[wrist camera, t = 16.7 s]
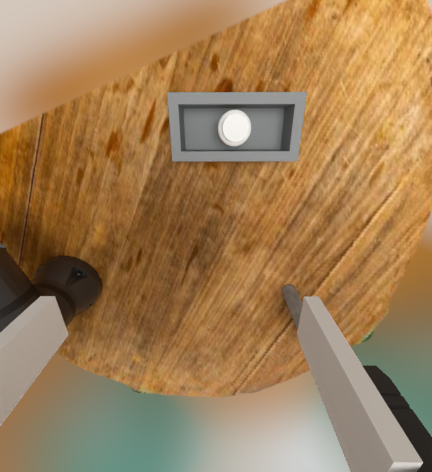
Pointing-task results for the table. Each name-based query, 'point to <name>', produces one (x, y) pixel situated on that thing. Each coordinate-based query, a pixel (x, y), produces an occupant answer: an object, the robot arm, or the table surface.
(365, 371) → the robot arm
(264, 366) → the table surface
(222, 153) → the tray
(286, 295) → the hip flask
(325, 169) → the table surface
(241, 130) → the supplement bottle
